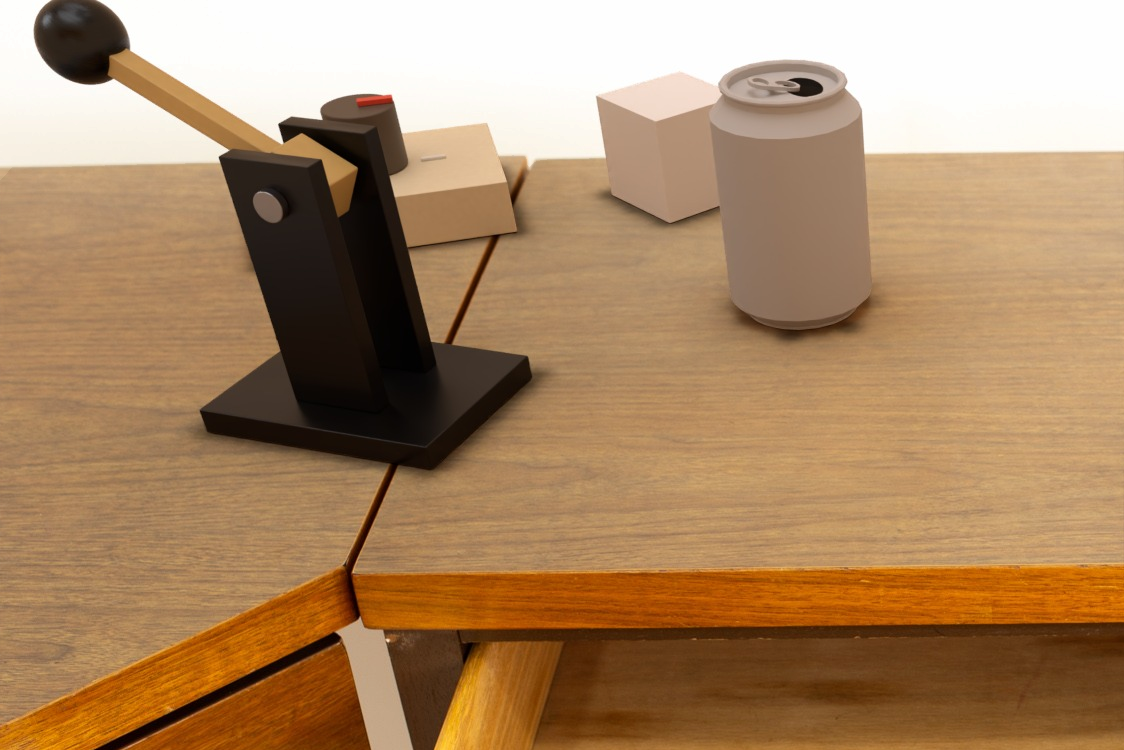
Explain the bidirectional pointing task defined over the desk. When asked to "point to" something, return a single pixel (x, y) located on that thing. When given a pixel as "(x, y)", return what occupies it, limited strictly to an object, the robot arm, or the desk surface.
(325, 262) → the bracket
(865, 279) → the can
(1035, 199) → the desk surface
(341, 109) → the lock knob
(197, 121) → the lever
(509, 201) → the plate
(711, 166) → the pale pink cube
